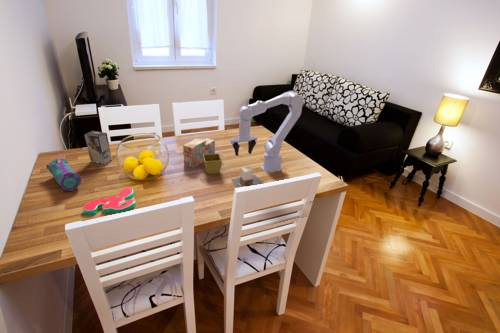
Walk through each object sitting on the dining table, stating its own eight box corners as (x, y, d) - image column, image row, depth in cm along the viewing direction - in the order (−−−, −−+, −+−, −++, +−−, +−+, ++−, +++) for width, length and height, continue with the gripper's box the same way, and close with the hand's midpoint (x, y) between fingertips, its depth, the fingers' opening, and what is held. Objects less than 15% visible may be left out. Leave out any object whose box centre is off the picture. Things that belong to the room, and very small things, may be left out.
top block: (248, 175, 140) (248, 166, 137) (252, 179, 136) (253, 170, 134) (240, 176, 138) (240, 167, 135) (244, 180, 134) (244, 171, 132)
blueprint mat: (254, 175, 149) (254, 174, 148) (267, 188, 138) (267, 187, 138) (230, 180, 143) (230, 179, 143) (242, 194, 132) (242, 193, 132)
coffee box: (112, 159, 154) (107, 132, 147) (104, 164, 149) (99, 137, 141) (98, 157, 156) (92, 130, 148) (90, 162, 150) (83, 134, 143)
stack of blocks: (206, 151, 171) (206, 133, 165) (215, 154, 169) (215, 135, 163) (183, 165, 154) (182, 144, 148) (193, 168, 152) (192, 147, 146)
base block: (248, 181, 141) (248, 175, 140) (253, 186, 138) (253, 179, 136) (239, 183, 139) (239, 176, 137) (243, 188, 135) (244, 181, 134)
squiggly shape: (132, 190, 130) (132, 186, 129) (137, 210, 117) (136, 205, 116) (84, 199, 121) (82, 195, 120) (83, 221, 109) (82, 217, 108)
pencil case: (49, 176, 135) (43, 159, 131) (69, 171, 141) (65, 154, 136) (63, 195, 123) (57, 176, 118) (84, 187, 129) (80, 169, 124)
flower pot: (205, 177, 144) (204, 161, 140) (202, 169, 151) (202, 154, 147) (221, 175, 146) (222, 160, 142) (218, 167, 154) (219, 153, 149)
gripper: (253, 126, 148) (251, 149, 154) (228, 129, 141) (227, 153, 148) (259, 130, 142) (257, 154, 148) (234, 134, 136) (233, 158, 142)
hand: (243, 154), depth 148 cm, fingers open, 7 cm apart
